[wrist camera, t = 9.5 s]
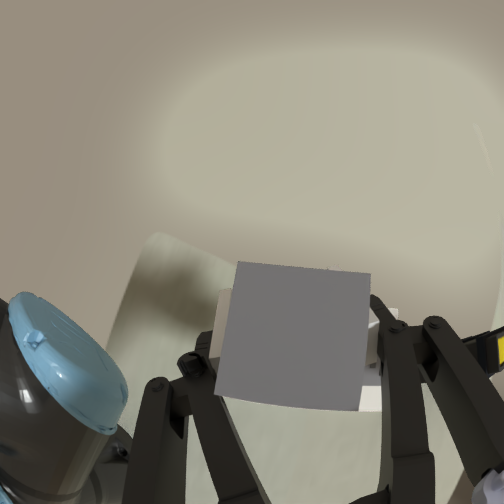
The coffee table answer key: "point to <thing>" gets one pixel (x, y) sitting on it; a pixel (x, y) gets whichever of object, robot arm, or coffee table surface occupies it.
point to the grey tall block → (295, 337)
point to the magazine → (485, 351)
